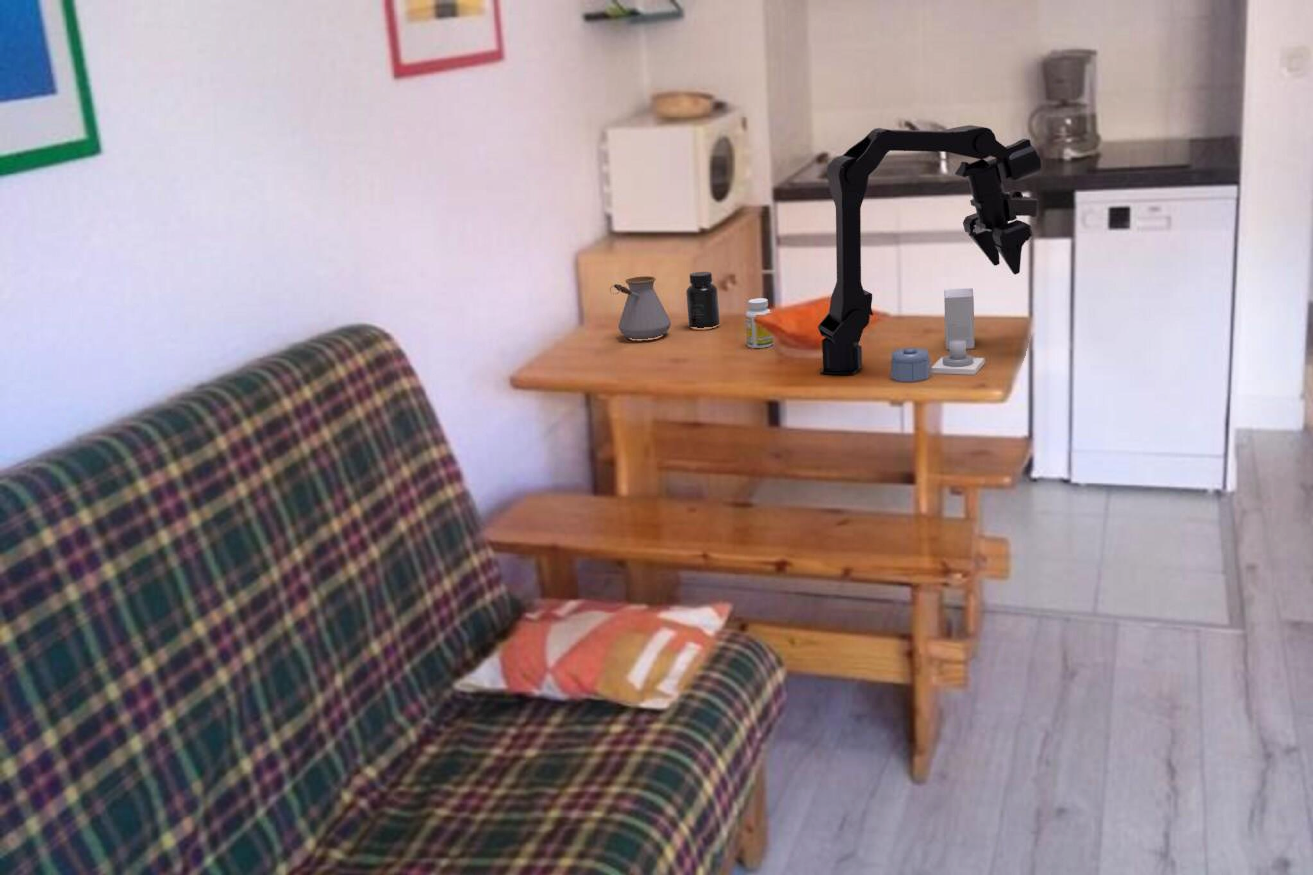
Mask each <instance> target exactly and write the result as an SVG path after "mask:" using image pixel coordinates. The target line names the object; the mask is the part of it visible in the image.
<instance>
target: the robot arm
mask: <svg viewBox="0 0 1313 875" xmlns="http://www.w3.org/2000/svg"><path fill="white" fill-rule="evenodd" d="M890 151H891V152H898V151H899V152H937V153H939V152H940V153H941V152H942V153H949V154H953V155H959V156H963V157H968V158H972V159H977V160H975V161H972V162H970V163H969V162H966V161H961V162H960V165H959V167H958V168H957V169H956V171H955V173H954V174H955V176H958V177H961V178H967V180H968V183H969V187H970V192H971V195H972V199H970V200H969V202H970V205H971V207H974V208H975V213H972V214H970V215H966V216H965V218H964V220H963V222H962V224H963V230H964V232H966V233H968V236H969V237H970V238H971V239H972V240H973V242H974V243H975V244H976V246H978V248H979V249H980V250H981V252H983V254H984V255H985V257H986V258H988V260H989V261H990V263H991V264H992V265H993V266H998V265H1000V256H1001V257H1002V259H1003V260H1004V262H1005V264H1006V266H1008V268H1009V269H1010V271H1011V272H1012V274H1013V275H1018V274H1020V272H1021V271H1020V270H1021V259H1022V258H1021V257H1022V251H1023V250H1022V249H1023V246H1024V245H1025V243H1026V242H1028V241H1029V240H1030V239H1031V237H1032V236H1033V231H1032V227H1031V225H1030V224H1028V223H1027V222H1024V221H1021V220H1019V219H1018V218H1017V217H1019V216H1020V217H1021V216H1023V217H1025V216H1026V217H1030V218H1036V217H1037V216H1038V208H1039V199H1037V198H1034V197H1031V196H1026V195H1025V196H1023V193H1022V191H1020V190H1010V191H1009V193H1008V192H1005V190H1004V186H1003V182H1002V180H1003V181H1006V182H1007V183H1010V184H1012V183H1015V182H1017V181H1019V180H1022V179H1025V178H1028V177H1030V176H1032V175H1036V174H1038V173H1040V171H1041V169H1042V168H1041V167H1042V162H1041V157H1040V156H1039V155H1038V152H1037V150H1036V149H1035V148H1034V146H1033V145H1032V143H1031V140H1030V139H1029V138H1022V139H1020V140H1018V141H1016V142H1014V143H1012V144H1009V145H1007V146H1004V144H1002V143H1001V142H999V141H998V140H997V138H996V135H995V133H994V132H993V130H992V129H991V128H989V127H985V126H984V127H983V126H978V125H973V124H972V125H971V124H968V125H967V124H966V125H963V126H957V127H952V128H948V129H943V130H919V129H918V130H915V129H914V130H913V129H886V128H882V127H878V128H874V129H872V130H871V131H870V132H869V133H868V134H867V135H866V136H864V137H863V139H861V140H860V141H858V142H857V143H856V144H854V145H853V146H851V147H850V148H849V149H847V150H846V151H845V152H844V153H843V154H841V155H839V156H835V158H833V159H831V162H829V164H828V165H827V168H826V176H827V181H828V187H829V192H830V194H831V197H832V201H833V202H834V206H835V244H836V246H835V248H836V252H835V253H836V255H835V257H836V283H835V286H834V288H833V291H832V294H831V297H830V304H829V310H828V313H827V315H826V316H825V317H824V318H823V319H822V321H821V322H820V323H819V324H818V326H817V329H818V331H819V334H820V335H821V337H824V338H823V339H822V340H821V348H822V349H821V350H822V367H823V368H822V369H821V370H820V371H819V373H820V374H822V375H837V376H838V375H839V376H853V375H855V374H856V373H857V372H858V371H860V370H861V369H862V368H863V366H864V365H863V353H862V352H863V351H862V348H863V347H862V345H859V344H860V342H861V337H862V334H863V331H864V329H865V328H866V327H867V326H868V325H869V323H870V318H871V317H870V316H874V313H873V310H872V303H873V294H872V292H870V291H868V290H865V289H864V288H863V284H862V239H861V238H862V237H861V236H862V235H861V234H862V232H861V231H862V230H861V229H862V227H861V225H862V224H861V223H862V220H861V218H862V216H861V212H862V211H861V210H862V209H861V208H862V204H863V201H864V199H865V196H866V194H867V190H868V183H869V178H870V175H871V174H872V173H874V171H875V170H876V169H877V168H878V166H880V164H881V163H882V160H883V159H884V158H885V156H886V155H887V154H888V153H889V152H890ZM989 157H990V158H993V159H990V160H987V161H986V160H985V159H987V158H989Z"/></svg>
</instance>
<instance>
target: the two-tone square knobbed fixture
mask: <svg viewBox="0 0 1313 875" xmlns="http://www.w3.org/2000/svg"><path fill="white" fill-rule="evenodd" d="M949 349H950V350H949V354H947V355H944V356H941V357H940V358H939V359H938V360H937V361H936V362H935V363H934V364H933V365H932V367H931V366H930V374H940V375H941V374H943V375H944V374H946V375H948V374H950V375H965V376H966V375H967V376H968V375H969V376H970V375H971V376H974V375H976V374H977V373H978V371H979V370H981V368H982V367H983V366H984V364H986V360H985V357H974V356H973V355H971V354H968V353H967V349H966V341H964V340H953V341H950V342H949Z"/></svg>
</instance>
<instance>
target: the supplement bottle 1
mask: <svg viewBox="0 0 1313 875" xmlns="http://www.w3.org/2000/svg"><path fill="white" fill-rule="evenodd" d="M712 276H713V275H712V272H711V271H697V272H692V273H690V274H689V283H690V286H688V287H687V288H686V305H687V306H686V307H687V316H688V317H687V318H688V319H687V320H688V326H690V327H697V328H704V327H713V326H716V325H718V324H720V322H721V321H720V306H719V295H718V288H717V287H716V285H715V284H713V283H712V282H713V277H712ZM690 327H689V328H690Z"/></svg>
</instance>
